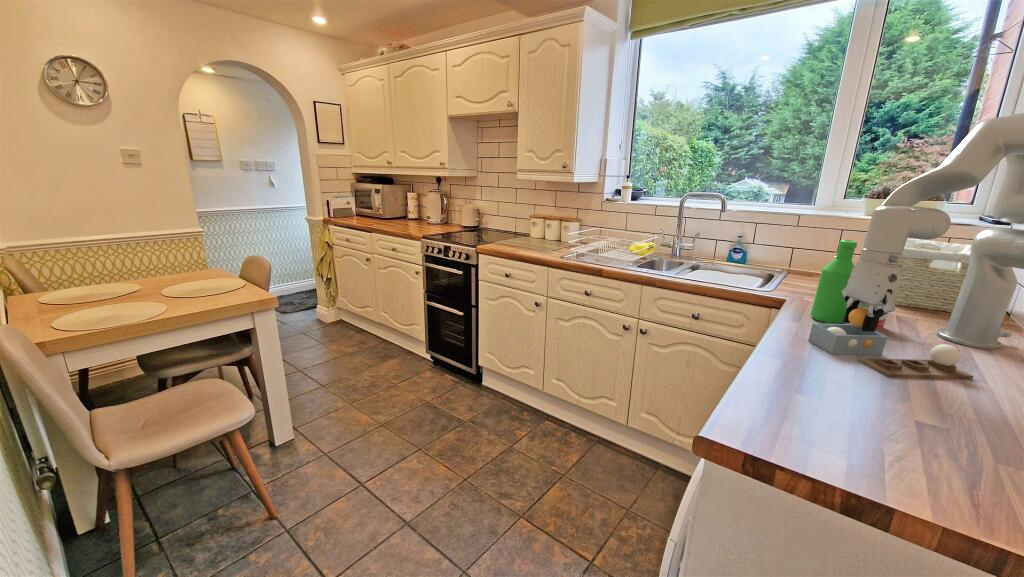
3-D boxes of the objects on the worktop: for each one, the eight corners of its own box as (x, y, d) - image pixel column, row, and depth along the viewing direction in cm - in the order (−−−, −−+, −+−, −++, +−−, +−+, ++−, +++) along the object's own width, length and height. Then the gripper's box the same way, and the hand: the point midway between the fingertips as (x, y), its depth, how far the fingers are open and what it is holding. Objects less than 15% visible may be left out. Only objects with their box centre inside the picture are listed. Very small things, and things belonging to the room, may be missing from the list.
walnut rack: (936, 362, 101) (939, 356, 101) (972, 379, 94) (975, 371, 93) (858, 361, 101) (860, 354, 100) (887, 377, 93) (890, 370, 92)
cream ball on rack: (941, 360, 100) (948, 341, 98) (963, 370, 95) (971, 350, 93) (921, 359, 99) (927, 340, 98) (942, 369, 95) (950, 349, 93)
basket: (986, 320, 136) (1011, 255, 130) (881, 304, 148) (899, 244, 142) (953, 299, 158) (974, 243, 152) (865, 287, 171) (880, 235, 165)
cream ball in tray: (834, 341, 111) (839, 324, 109) (849, 349, 106) (854, 331, 104) (816, 341, 110) (820, 323, 109) (830, 349, 106) (835, 331, 104)
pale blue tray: (855, 341, 113) (860, 324, 111) (882, 355, 105) (888, 337, 103) (808, 340, 112) (812, 323, 111) (832, 354, 104) (837, 335, 103)
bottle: (850, 326, 124) (874, 244, 117) (818, 323, 126) (840, 242, 119) (835, 316, 132) (856, 239, 125) (804, 314, 134) (824, 237, 127)
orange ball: (859, 323, 109) (864, 305, 108) (876, 330, 104) (881, 312, 103) (841, 322, 109) (846, 304, 108) (856, 330, 104) (862, 311, 103)
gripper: (928, 266, 94) (903, 340, 99) (864, 251, 110) (845, 316, 115) (897, 265, 93) (873, 339, 98) (837, 250, 110) (819, 315, 115)
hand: (858, 326), depth 107 cm, fingers closed on orange ball, 4 cm apart
